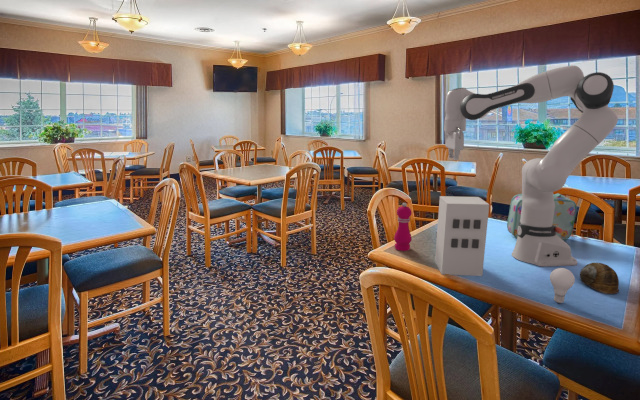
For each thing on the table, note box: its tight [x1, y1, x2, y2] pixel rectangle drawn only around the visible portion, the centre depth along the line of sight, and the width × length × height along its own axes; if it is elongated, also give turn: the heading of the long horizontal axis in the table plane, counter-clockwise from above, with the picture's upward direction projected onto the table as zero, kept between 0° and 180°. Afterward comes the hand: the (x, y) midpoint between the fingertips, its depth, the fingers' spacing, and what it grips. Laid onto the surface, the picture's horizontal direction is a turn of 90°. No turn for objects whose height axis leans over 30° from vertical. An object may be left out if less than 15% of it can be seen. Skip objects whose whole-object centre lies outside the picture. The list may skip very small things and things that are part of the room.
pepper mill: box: [393, 202, 412, 252], centre depth 161 cm, size 7×7×20 cm
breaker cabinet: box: [434, 195, 490, 277], centre depth 139 cm, size 14×13×26 cm
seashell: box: [579, 262, 620, 295], centre depth 127 cm, size 11×9×8 cm
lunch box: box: [506, 192, 577, 242], centre depth 175 cm, size 27×10×21 cm, turn 85°
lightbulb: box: [549, 267, 576, 304], centre depth 116 cm, size 6×6×11 cm
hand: (453, 159), depth 169 cm, fingers open, 8 cm apart
